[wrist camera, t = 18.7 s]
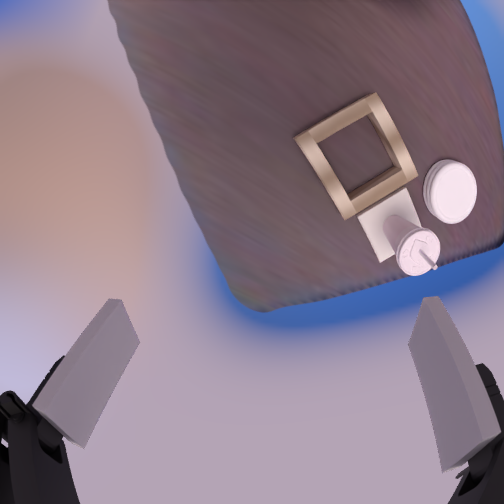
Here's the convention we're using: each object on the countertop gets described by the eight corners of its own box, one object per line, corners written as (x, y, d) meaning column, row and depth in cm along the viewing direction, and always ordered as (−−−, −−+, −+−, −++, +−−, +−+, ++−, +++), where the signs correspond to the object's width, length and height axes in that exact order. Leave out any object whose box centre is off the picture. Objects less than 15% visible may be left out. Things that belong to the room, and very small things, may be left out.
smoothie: (402, 199, 37) (451, 235, 25) (416, 232, 39) (461, 277, 27) (368, 219, 39) (406, 264, 26) (383, 252, 41) (420, 304, 29)
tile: (355, 214, 40) (357, 217, 39) (403, 186, 37) (406, 187, 36) (378, 259, 43) (380, 262, 42) (421, 232, 40) (424, 235, 39)
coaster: (466, 212, 38) (477, 219, 35) (422, 221, 40) (432, 229, 36) (465, 156, 34) (477, 160, 31) (419, 161, 36) (430, 165, 32)
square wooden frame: (293, 137, 36) (294, 138, 33) (368, 94, 32) (376, 92, 29) (340, 213, 40) (344, 220, 37) (409, 171, 36) (418, 175, 34)
